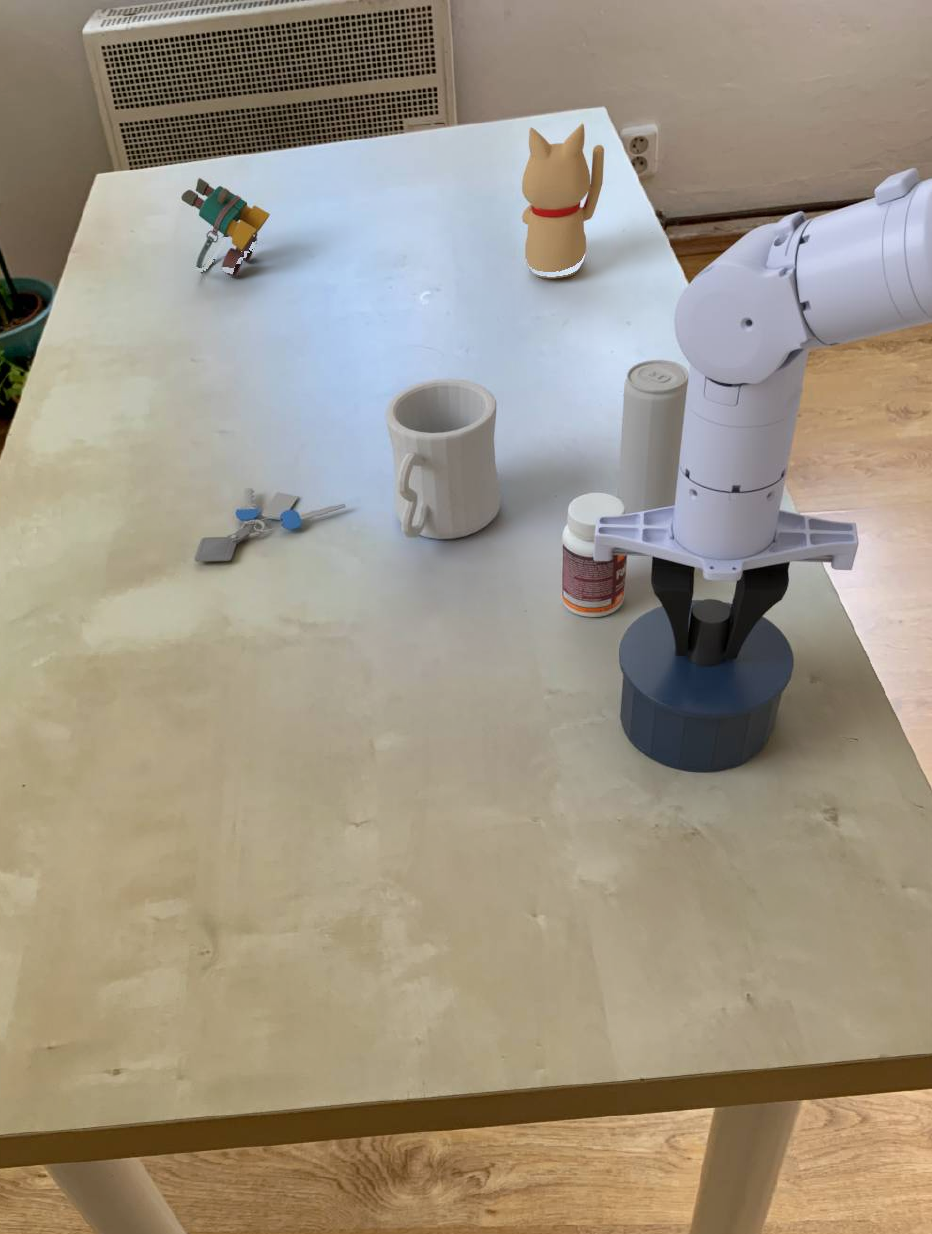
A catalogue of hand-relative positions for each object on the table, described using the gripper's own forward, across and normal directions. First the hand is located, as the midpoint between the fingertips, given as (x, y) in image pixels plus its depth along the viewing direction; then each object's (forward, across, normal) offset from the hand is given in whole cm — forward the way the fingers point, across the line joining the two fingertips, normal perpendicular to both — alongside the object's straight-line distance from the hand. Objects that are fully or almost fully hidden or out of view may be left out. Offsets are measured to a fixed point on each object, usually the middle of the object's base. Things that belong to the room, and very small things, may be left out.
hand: (705, 646), depth 70 cm
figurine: (+7, -15, +69) cm, 71 cm away
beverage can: (+7, -4, +24) cm, 25 cm away
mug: (+7, -21, +21) cm, 31 cm away
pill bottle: (+7, -8, +12) cm, 16 cm away
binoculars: (+7, -54, +71) cm, 90 cm away
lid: (+1, 0, 0) cm, 1 cm away
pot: (+6, 0, 0) cm, 6 cm away
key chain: (+7, -38, +20) cm, 43 cm away
